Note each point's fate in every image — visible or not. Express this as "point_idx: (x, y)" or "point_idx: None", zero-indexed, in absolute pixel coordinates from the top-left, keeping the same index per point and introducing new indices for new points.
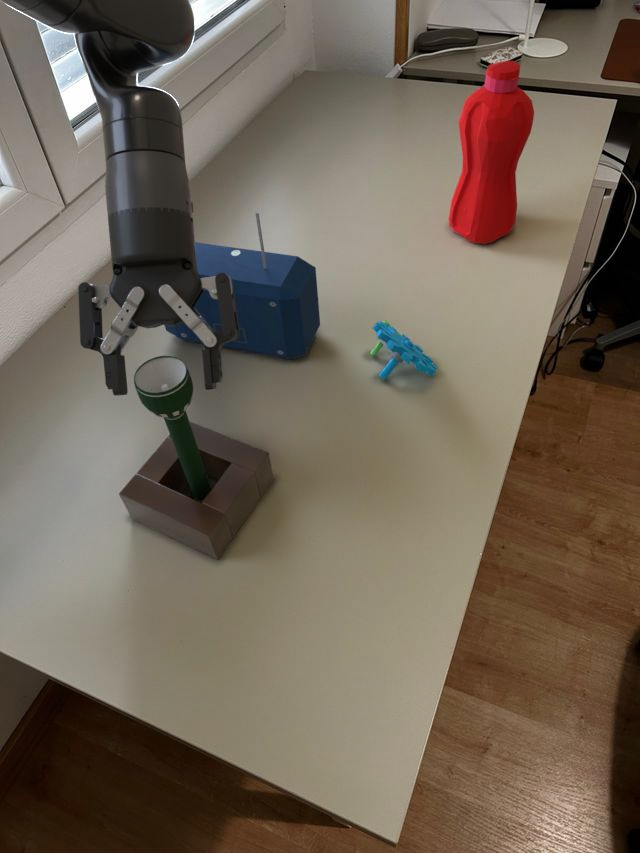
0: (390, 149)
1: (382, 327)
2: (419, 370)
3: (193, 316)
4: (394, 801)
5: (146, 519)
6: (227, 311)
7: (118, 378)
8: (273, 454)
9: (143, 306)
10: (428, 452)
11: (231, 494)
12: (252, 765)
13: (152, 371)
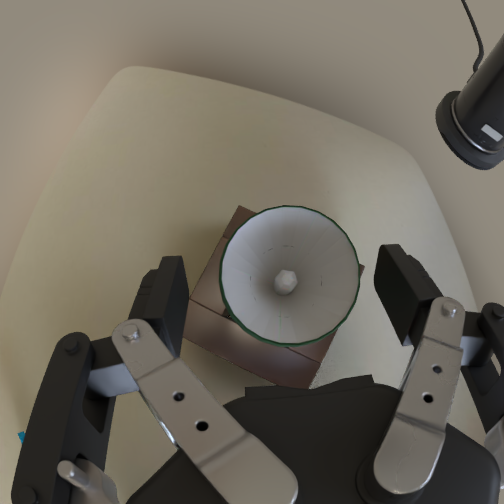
0: None
1: None
2: (23, 433)
3: (152, 387)
4: (117, 74)
5: None
6: (50, 397)
7: (395, 262)
8: (189, 367)
9: (371, 438)
10: (36, 348)
11: (216, 263)
12: (199, 77)
13: (325, 317)
